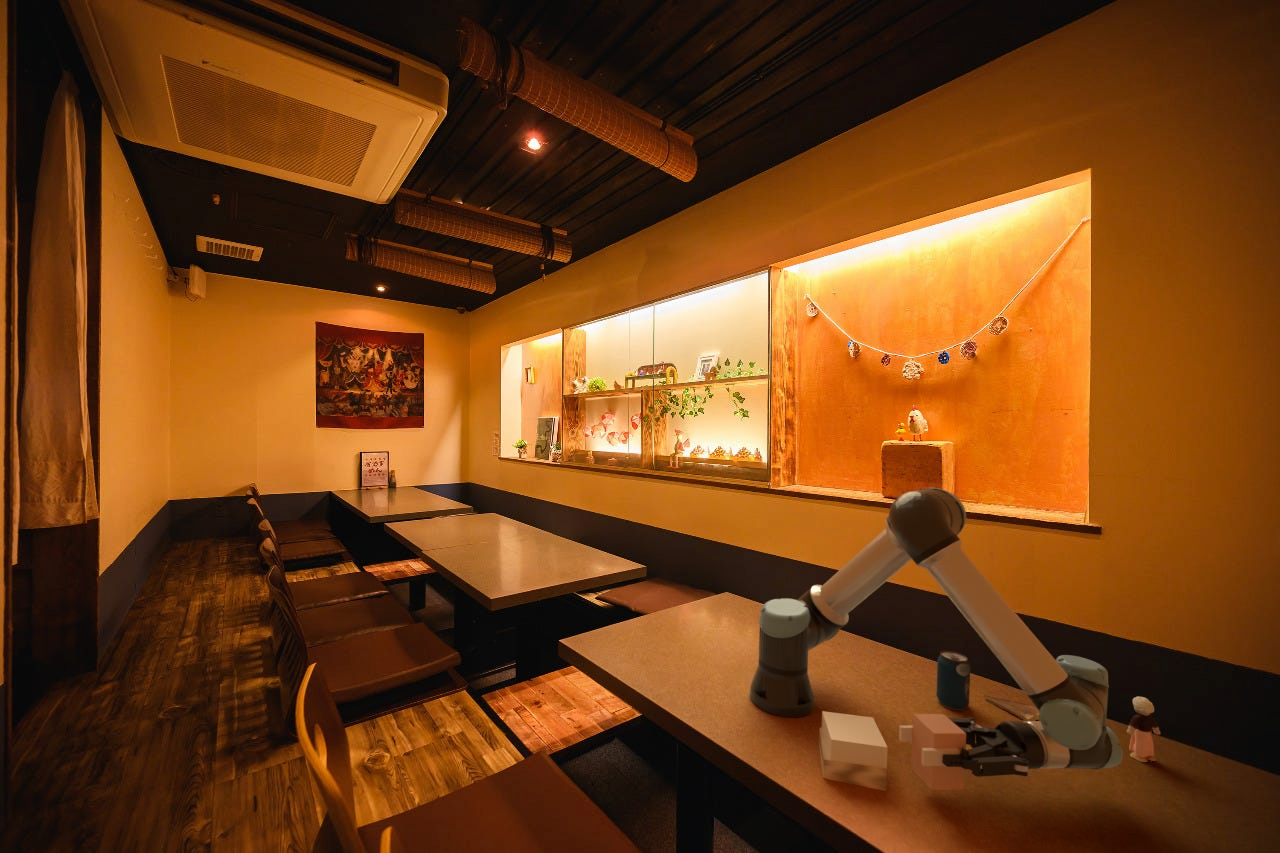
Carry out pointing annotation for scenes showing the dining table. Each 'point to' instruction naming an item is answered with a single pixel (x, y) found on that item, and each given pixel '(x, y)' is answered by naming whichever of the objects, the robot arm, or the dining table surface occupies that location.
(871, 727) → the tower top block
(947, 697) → the soda can
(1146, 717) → the grandmother figurine
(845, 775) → the tower base block
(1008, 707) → the shard
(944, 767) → the tall block
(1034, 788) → the dining table surface
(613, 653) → the dining table surface
